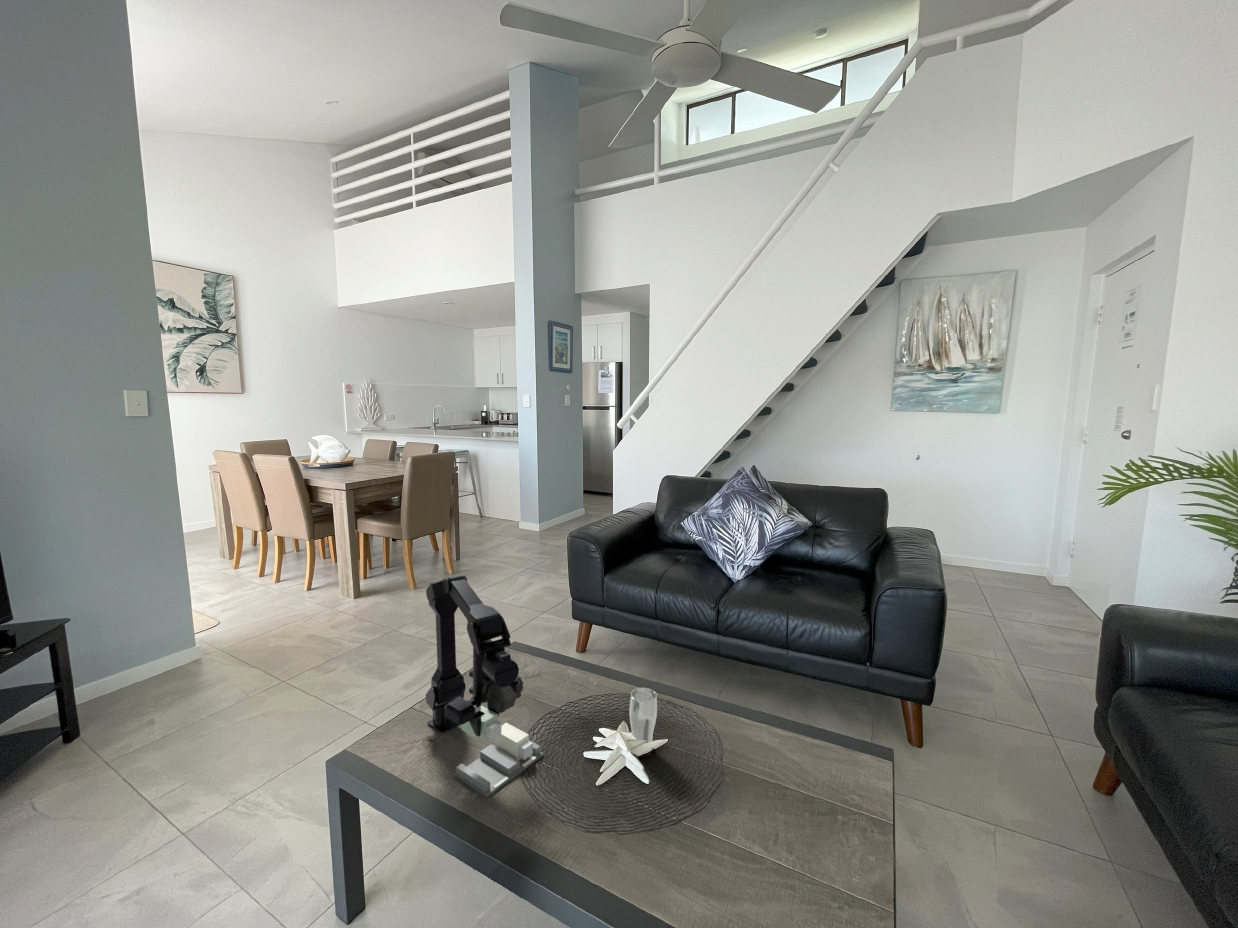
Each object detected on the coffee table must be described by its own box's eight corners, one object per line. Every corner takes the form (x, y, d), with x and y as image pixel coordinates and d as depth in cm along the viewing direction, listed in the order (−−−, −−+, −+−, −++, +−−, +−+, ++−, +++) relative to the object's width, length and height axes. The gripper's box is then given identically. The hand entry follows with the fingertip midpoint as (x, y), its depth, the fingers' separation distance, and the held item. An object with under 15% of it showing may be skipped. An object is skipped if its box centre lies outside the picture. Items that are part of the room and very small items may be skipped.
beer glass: (653, 760, 129) (655, 703, 128) (625, 756, 131) (627, 699, 129) (656, 743, 136) (659, 689, 135) (630, 739, 137) (632, 685, 136)
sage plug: (461, 729, 123) (461, 709, 123) (474, 721, 127) (475, 701, 126) (489, 746, 118) (489, 725, 117) (503, 737, 121) (503, 717, 120)
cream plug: (494, 748, 131) (494, 729, 130) (505, 740, 134) (506, 722, 134) (522, 765, 125) (522, 745, 125) (534, 756, 128) (534, 737, 128)
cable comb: (455, 776, 122) (455, 767, 121) (512, 737, 136) (513, 729, 136) (486, 797, 115) (487, 788, 115) (543, 755, 130) (543, 746, 130)
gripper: (476, 697, 107) (475, 767, 109) (540, 662, 123) (538, 725, 124) (442, 679, 114) (442, 746, 115) (507, 648, 129) (506, 708, 131)
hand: (485, 731), depth 121 cm, fingers closed on sage plug, 4 cm apart
